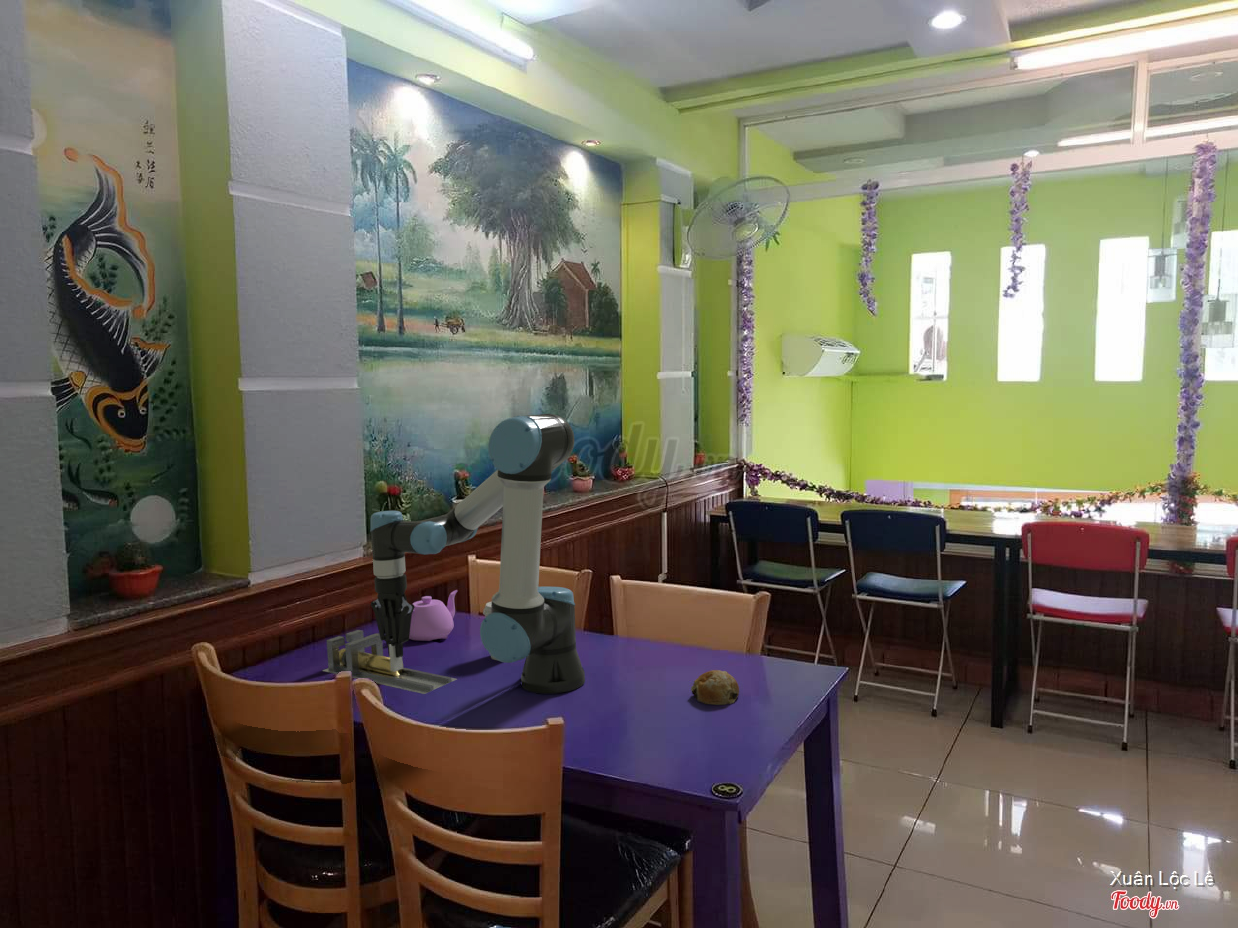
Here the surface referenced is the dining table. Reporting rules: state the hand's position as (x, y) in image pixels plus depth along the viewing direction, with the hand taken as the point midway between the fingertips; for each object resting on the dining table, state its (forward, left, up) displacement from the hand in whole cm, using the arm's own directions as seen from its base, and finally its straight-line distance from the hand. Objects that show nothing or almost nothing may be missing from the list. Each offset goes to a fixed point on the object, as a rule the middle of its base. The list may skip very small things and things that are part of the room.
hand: (396, 669), depth 211 cm
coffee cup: (-14, -24, -3) cm, 28 cm away
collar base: (+3, 0, -3) cm, 4 cm away
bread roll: (-74, -25, -3) cm, 78 cm away
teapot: (+18, -30, -3) cm, 35 cm away
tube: (+11, 0, -2) cm, 11 cm away
